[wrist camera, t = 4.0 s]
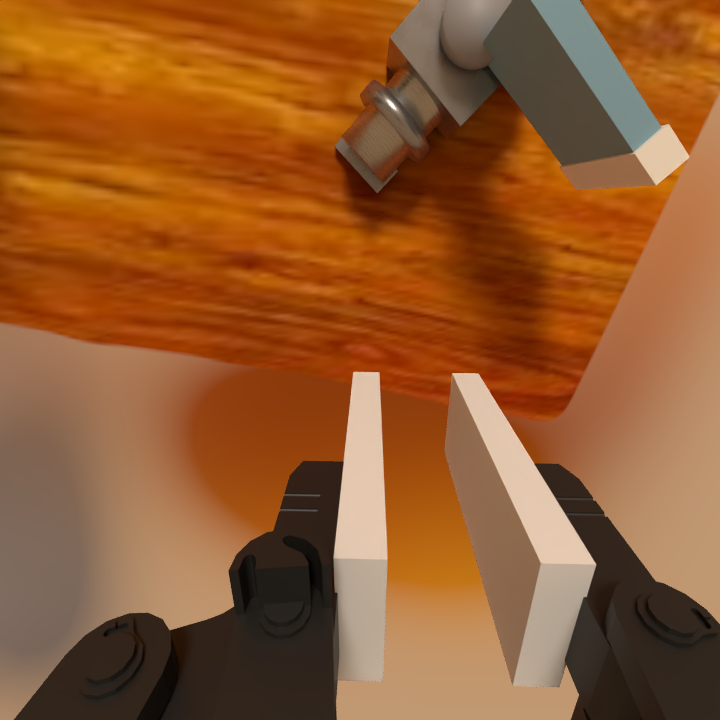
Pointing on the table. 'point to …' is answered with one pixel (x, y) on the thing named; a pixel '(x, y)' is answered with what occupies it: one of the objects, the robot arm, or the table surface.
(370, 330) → the table surface
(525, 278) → the table surface
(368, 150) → the valve
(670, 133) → the lever
